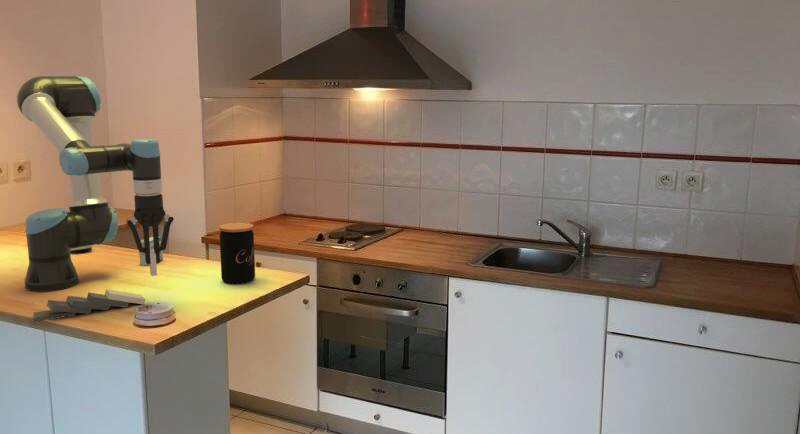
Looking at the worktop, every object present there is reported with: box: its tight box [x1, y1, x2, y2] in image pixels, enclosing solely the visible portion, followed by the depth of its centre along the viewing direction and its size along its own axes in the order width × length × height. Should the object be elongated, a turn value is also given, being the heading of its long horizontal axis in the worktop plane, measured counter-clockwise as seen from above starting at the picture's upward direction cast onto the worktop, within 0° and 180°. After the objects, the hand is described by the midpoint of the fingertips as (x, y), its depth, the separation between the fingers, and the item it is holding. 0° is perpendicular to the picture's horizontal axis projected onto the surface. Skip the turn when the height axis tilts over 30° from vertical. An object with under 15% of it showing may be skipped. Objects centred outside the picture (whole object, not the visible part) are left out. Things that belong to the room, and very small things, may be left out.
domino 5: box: [104, 288, 146, 305], centre depth 199 cm, size 2×5×10 cm
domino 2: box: [46, 299, 92, 315], centre depth 190 cm, size 2×5×10 cm
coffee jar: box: [219, 222, 256, 286], centre depth 223 cm, size 11×11×18 cm
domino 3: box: [65, 295, 111, 311], centre depth 193 cm, size 2×5×10 cm
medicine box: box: [138, 236, 164, 266], centre depth 245 cm, size 8×4×9 cm, turn 169°
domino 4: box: [86, 292, 130, 308], centre depth 196 cm, size 2×5×10 cm
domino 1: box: [33, 309, 77, 322], centre depth 190 cm, size 2×5×10 cm
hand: (153, 274), depth 201 cm, fingers closed
